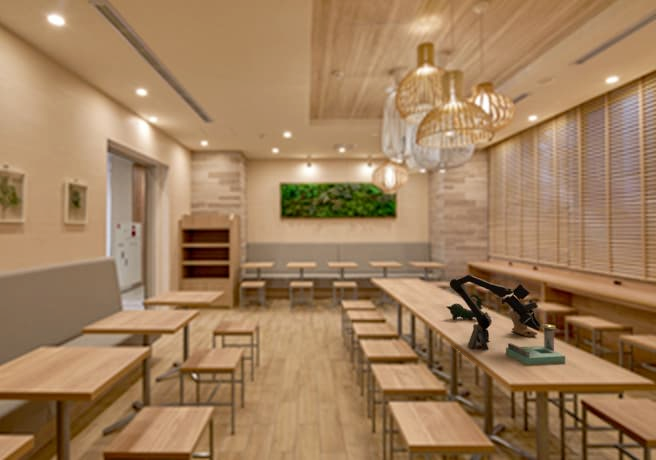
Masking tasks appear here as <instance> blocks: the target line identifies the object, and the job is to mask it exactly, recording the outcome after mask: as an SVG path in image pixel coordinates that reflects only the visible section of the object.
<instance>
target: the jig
mask: <svg viewBox="0 0 656 460" xmlns="http://www.w3.org/2000/svg"><path fill="white" fill-rule="evenodd" d="M507 345H508V346H507V347H505V354H506V355H508V356H509V357H512V358H513V359H515V360H517V361H520V363H523V364H524V365H541V364H559V363H560V364H561V363H566V356H565V355H563V354H562V353H559V352H556V351H555V350H554V351H552V350H550V349H548V348H545V347H544V345H536V346H535V345H534V346H518V345H515V344H513V343H507Z"/></svg>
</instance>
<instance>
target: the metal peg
mask: <svg viewBox="0 0 656 460" xmlns="http://www.w3.org/2000/svg"><path fill="white" fill-rule="evenodd" d="M542 328H543V331H544V332H543V341H544V342H543V347H545V348H548V349H550V350H552V351H555V330H556V329H557V328H556V325H553V324H546V323H545V324H542Z"/></svg>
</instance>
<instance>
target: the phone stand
mask: <svg viewBox="0 0 656 460" xmlns="http://www.w3.org/2000/svg"><path fill="white" fill-rule="evenodd" d="M472 325H473V326H472V327H473V328H472V332H471V335H470V337H469V340H468V343H467V346H468V348H469V349H471V350H477V351H478V350H481V351H483V350H487V351H488V350H489V349H490V348H489V346H488V343H487V342H486V340H485V337H484V335H483V328H482V327H481V326H479V325H478V323H474V324H472ZM477 325H478V326H477ZM478 336H479V340H480V342H479V343H480V345H479V344H478V345H477V343H478V341H477V339H478Z"/></svg>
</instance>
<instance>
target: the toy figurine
mask: <svg viewBox="0 0 656 460" xmlns="http://www.w3.org/2000/svg"><path fill="white" fill-rule="evenodd" d="M470 296H471V298H475V299H476V302H475V303H476V304H477V306H478V307H479V308H480V310H483V307H482V305H484V303H483V301H484V299H482V297H480V296H479V294H475V293H473V294H470ZM445 308H447V309H448V310H449V312H450V314H451V315H452V317H451V318H452V319H453V320H457V319H458V318H461V319H463V320H464V321H465V320H467V319H468V320H469V321H472V320H473V318H475V319H476V317H475V315H474V313H473V312H472V311H471V309H468V308H465V307H464V306H463V305H462V304H460V303H453V304H452V305H449V306H446V307H445Z"/></svg>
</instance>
